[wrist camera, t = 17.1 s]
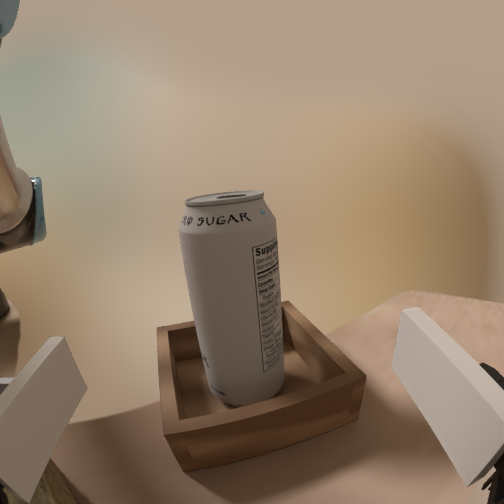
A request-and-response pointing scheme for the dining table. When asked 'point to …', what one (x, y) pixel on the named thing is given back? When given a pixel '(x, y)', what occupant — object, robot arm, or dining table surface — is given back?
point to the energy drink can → (235, 293)
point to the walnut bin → (259, 414)
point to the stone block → (47, 489)
